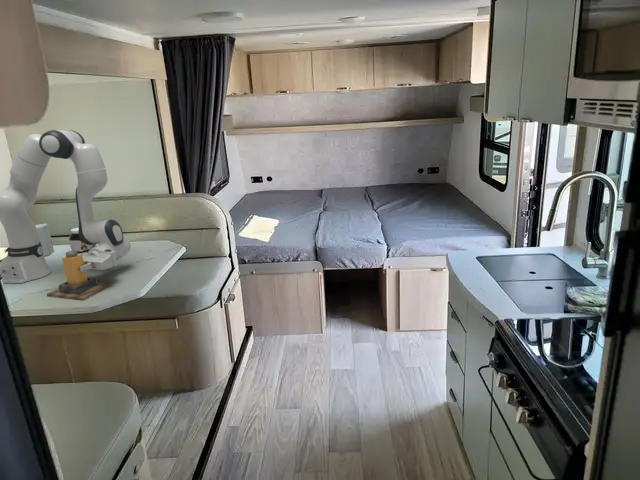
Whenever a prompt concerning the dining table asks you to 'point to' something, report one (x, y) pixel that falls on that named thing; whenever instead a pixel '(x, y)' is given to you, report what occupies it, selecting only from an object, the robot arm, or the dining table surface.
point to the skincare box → (45, 239)
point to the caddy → (79, 290)
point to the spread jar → (78, 242)
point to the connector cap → (74, 268)
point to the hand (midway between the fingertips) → (72, 268)
